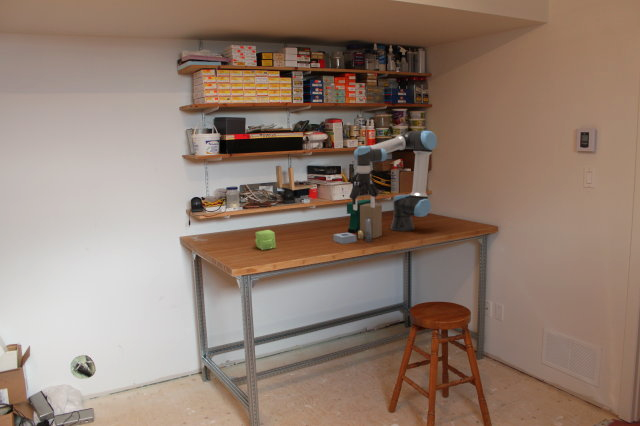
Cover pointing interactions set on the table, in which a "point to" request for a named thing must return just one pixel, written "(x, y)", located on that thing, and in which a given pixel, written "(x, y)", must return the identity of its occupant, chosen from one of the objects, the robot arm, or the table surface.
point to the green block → (265, 239)
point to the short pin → (360, 234)
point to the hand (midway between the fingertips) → (364, 208)
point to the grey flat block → (344, 238)
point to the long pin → (368, 229)
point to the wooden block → (375, 216)
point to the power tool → (355, 216)
